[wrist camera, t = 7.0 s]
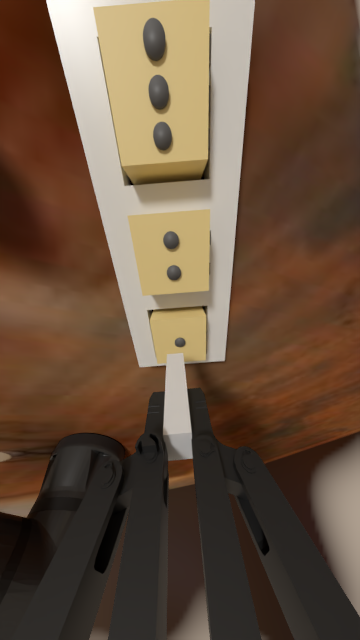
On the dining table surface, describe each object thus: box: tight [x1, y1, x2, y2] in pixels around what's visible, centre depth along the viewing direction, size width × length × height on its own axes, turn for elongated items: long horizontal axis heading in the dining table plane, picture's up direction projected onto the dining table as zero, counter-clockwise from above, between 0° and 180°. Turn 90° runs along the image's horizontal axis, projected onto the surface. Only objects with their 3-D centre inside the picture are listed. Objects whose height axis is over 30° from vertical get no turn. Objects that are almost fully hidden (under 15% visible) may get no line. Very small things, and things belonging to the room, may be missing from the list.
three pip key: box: [93, 0, 211, 185], centre depth 10 cm, size 6×6×4 cm
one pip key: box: [150, 306, 207, 364], centre depth 18 cm, size 6×6×4 cm
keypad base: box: [46, 0, 255, 367], centre depth 16 cm, size 28×12×2 cm, turn 4°
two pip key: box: [128, 209, 211, 296], centre depth 13 cm, size 6×6×4 cm
